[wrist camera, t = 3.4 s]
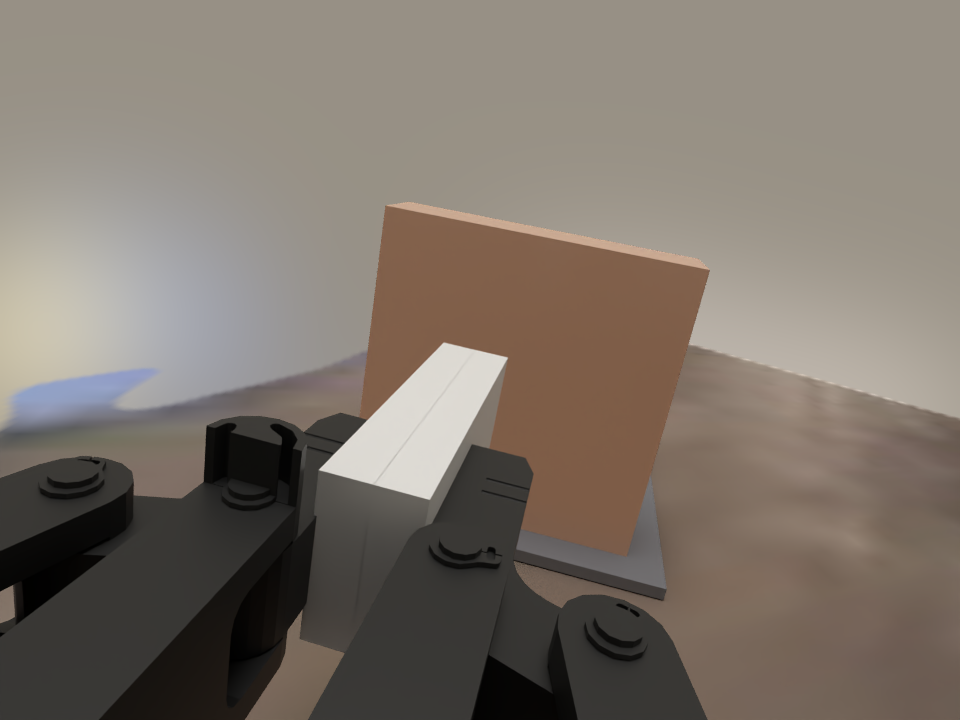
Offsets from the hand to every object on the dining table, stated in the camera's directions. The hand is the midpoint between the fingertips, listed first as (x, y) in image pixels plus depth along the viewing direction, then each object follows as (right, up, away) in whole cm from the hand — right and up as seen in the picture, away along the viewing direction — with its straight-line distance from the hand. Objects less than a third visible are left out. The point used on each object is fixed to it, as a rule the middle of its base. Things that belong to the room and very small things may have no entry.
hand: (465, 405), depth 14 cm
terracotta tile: (+1, -5, +14) cm, 15 cm away
